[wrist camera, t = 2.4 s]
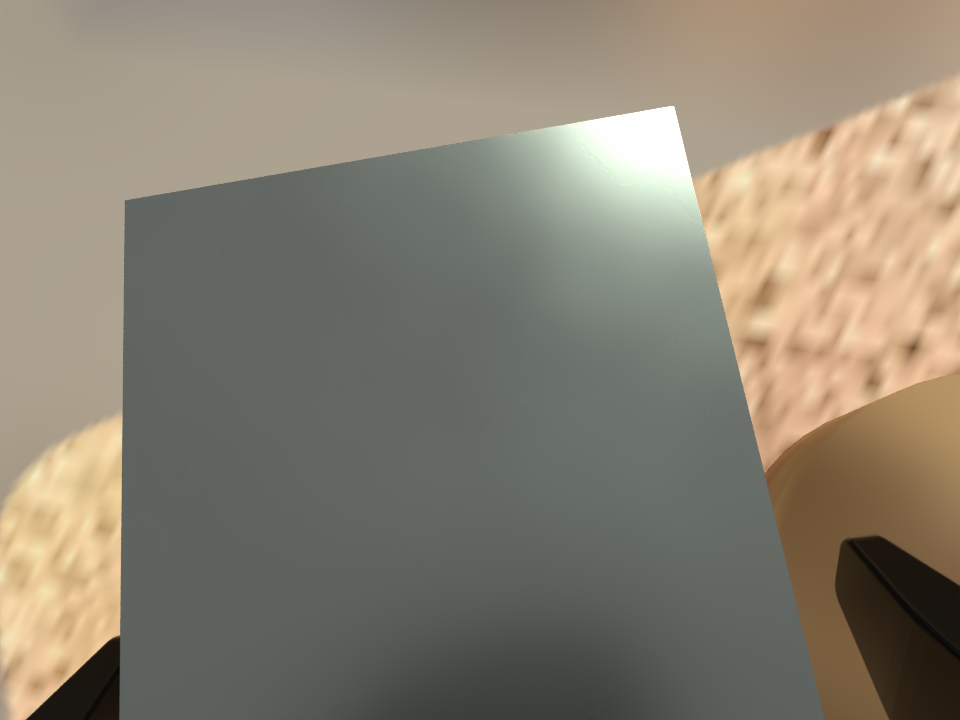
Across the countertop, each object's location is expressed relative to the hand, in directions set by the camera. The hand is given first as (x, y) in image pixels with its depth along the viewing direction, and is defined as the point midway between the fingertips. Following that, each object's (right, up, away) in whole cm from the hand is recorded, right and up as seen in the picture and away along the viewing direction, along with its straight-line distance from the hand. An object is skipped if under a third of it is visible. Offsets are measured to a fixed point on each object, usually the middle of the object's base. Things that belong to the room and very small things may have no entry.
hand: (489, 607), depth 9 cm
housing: (+1, -1, +9) cm, 9 cm away
